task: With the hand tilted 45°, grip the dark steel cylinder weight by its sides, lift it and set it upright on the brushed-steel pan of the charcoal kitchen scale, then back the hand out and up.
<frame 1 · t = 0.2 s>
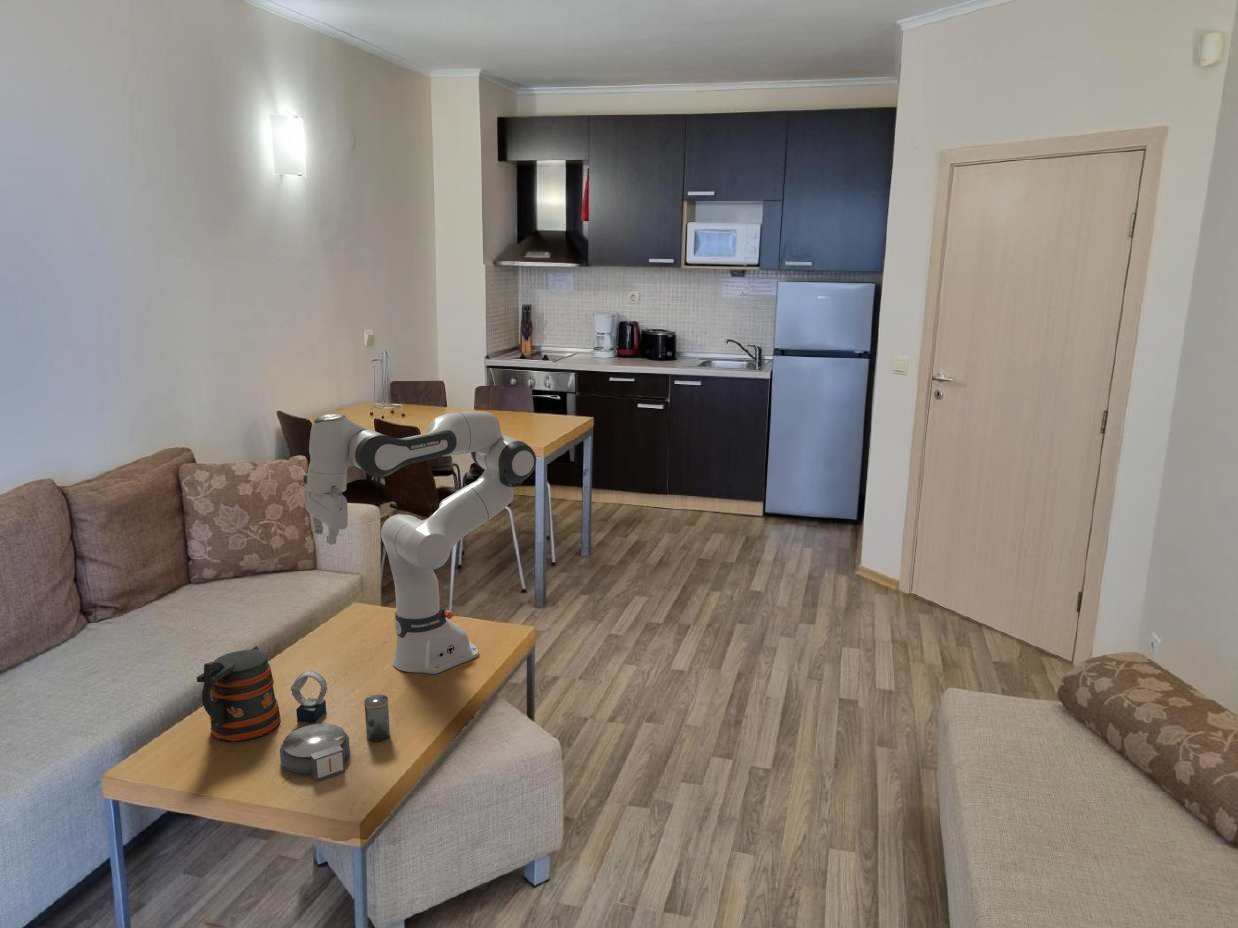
hand: (324, 538, 210), 39 cm above the table, tool pointing down, fingers open, 8 cm apart
scale: (315, 757, 188), on the table
watch: (311, 717, 205), on the table
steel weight: (378, 736, 196), on the table
beer stein: (240, 731, 198), on the table
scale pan: (314, 740, 187), point 4 cm above the table, slide at -0.2 cm
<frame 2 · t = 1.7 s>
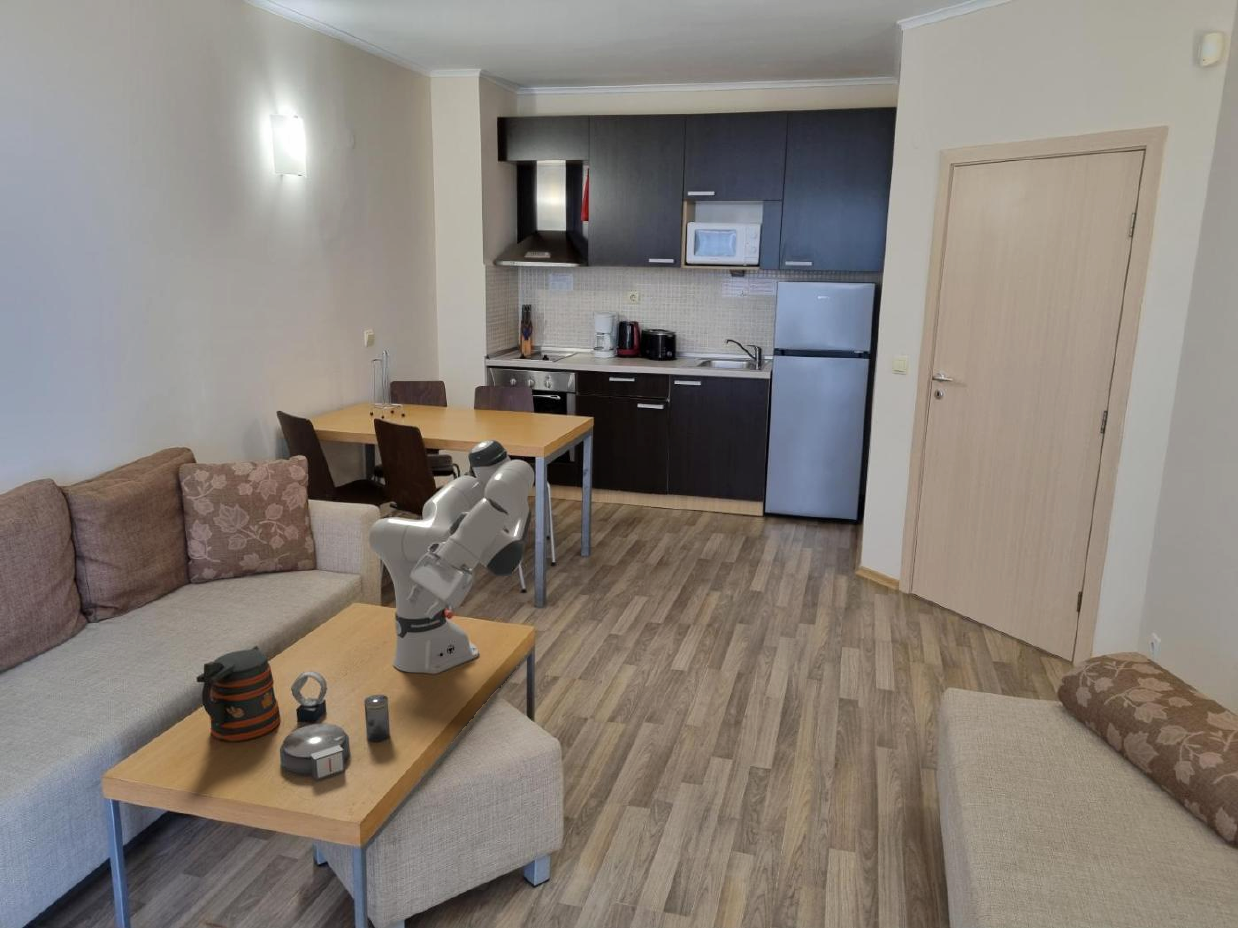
hand: (418, 609, 197), 27 cm above the table, tool tilted 45°, fingers open, 8 cm apart
nothing on the table moved.
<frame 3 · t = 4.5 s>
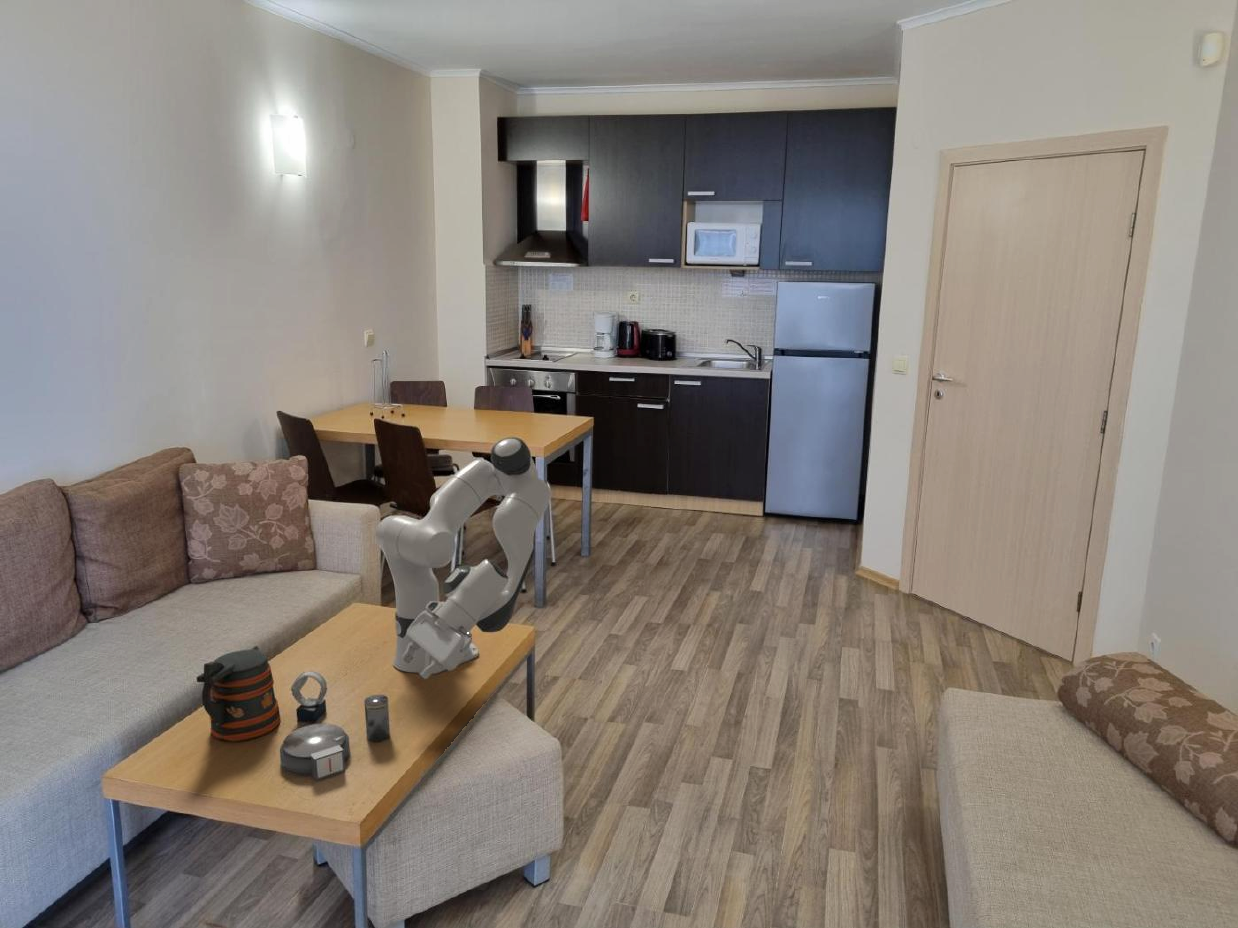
hand: (412, 668, 198), 14 cm above the table, tool tilted 50°, fingers open, 8 cm apart
nothing on the table moved.
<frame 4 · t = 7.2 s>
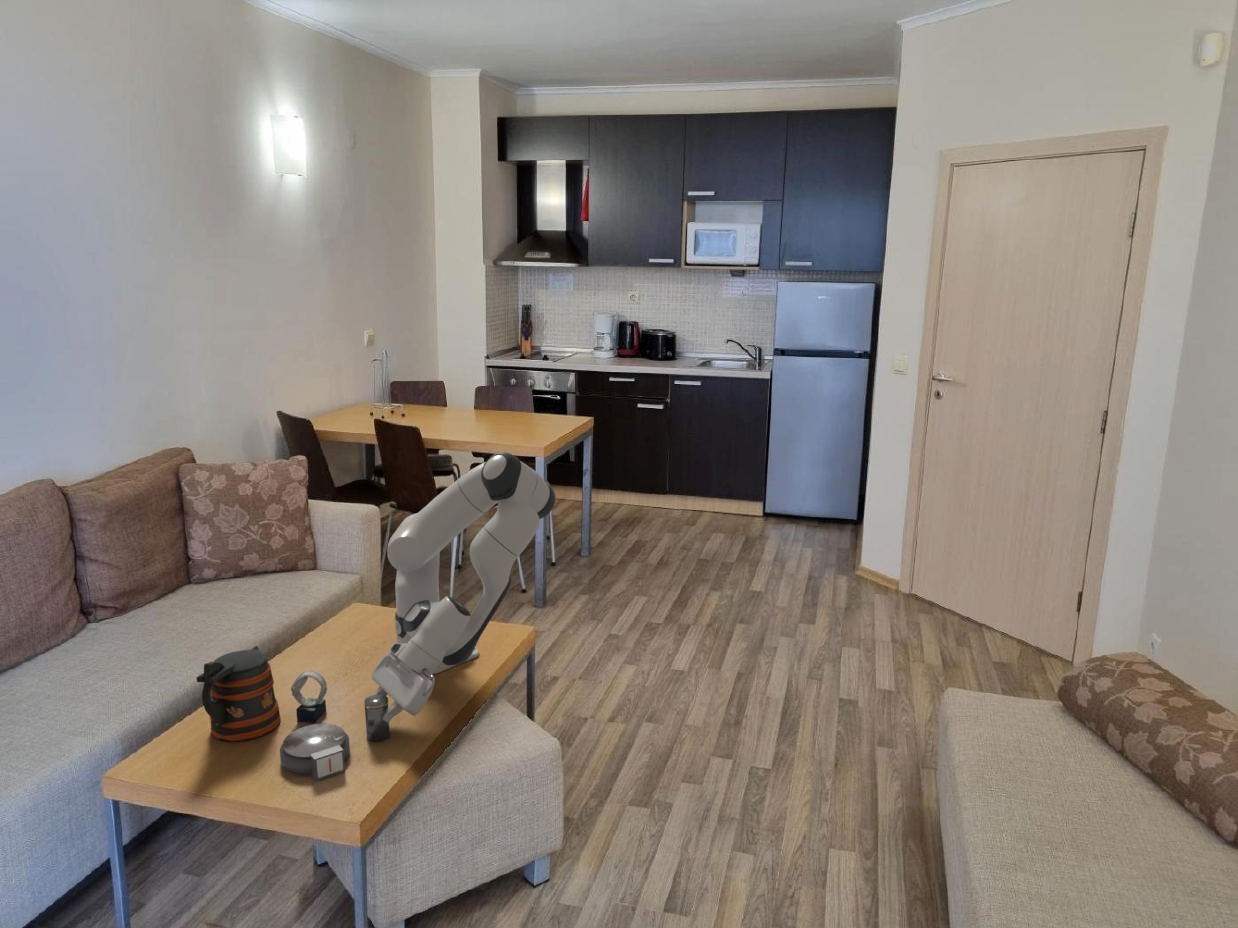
hand: (378, 714, 195), 5 cm above the table, tool tilted 45°, fingers closed on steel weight, 5 cm apart
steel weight: (378, 736, 196), on the table, touching gripper
everything else where it was.
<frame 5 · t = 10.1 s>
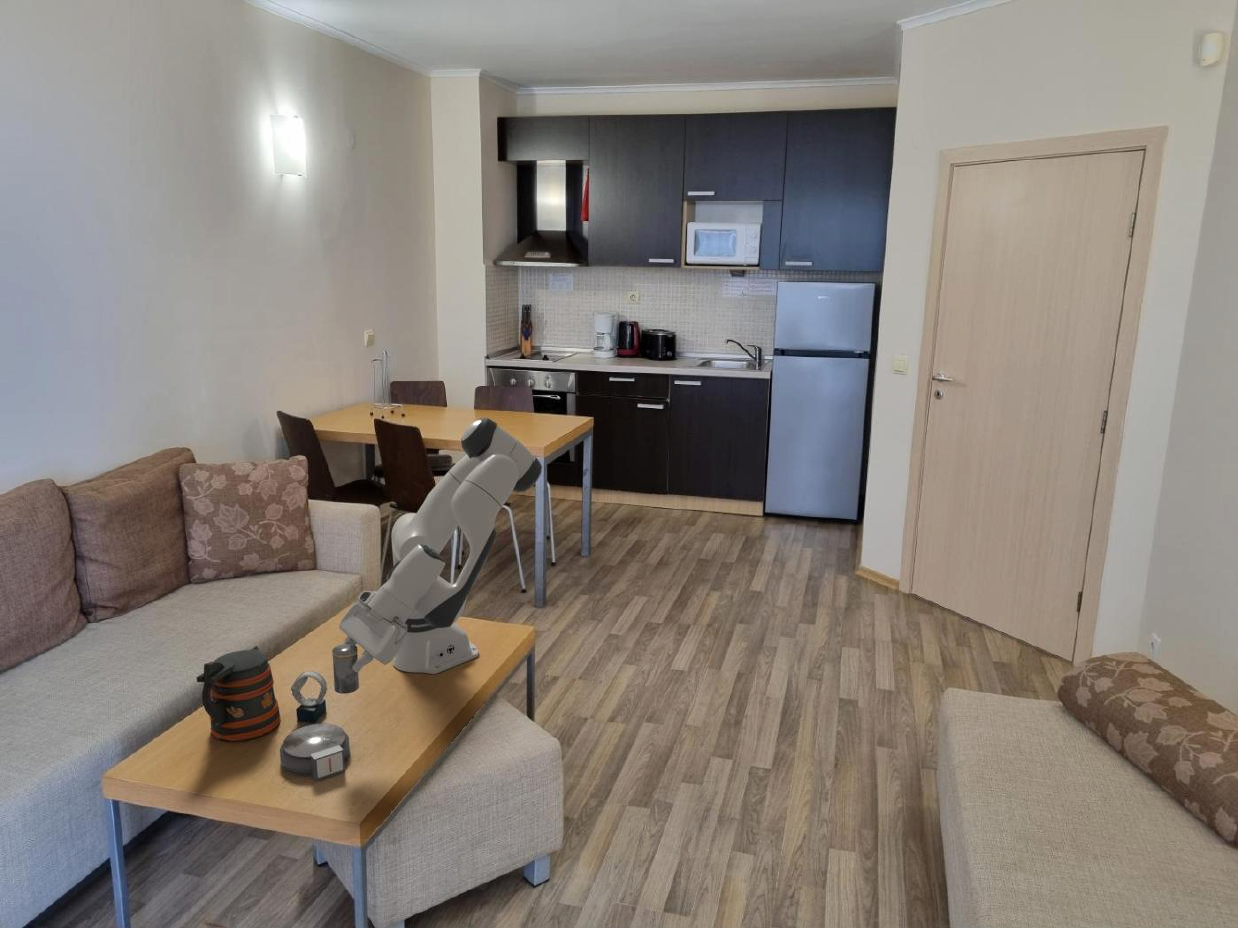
hand: (347, 664, 186), 20 cm above the table, tool tilted 45°, fingers closed on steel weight, 5 cm apart
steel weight: (346, 687, 187), point 15 cm above the table, touching gripper
everything else where it was.
when the fingers open (11 cm above the table, at t = 13.0 s): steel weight drops 2 cm, resting on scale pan.
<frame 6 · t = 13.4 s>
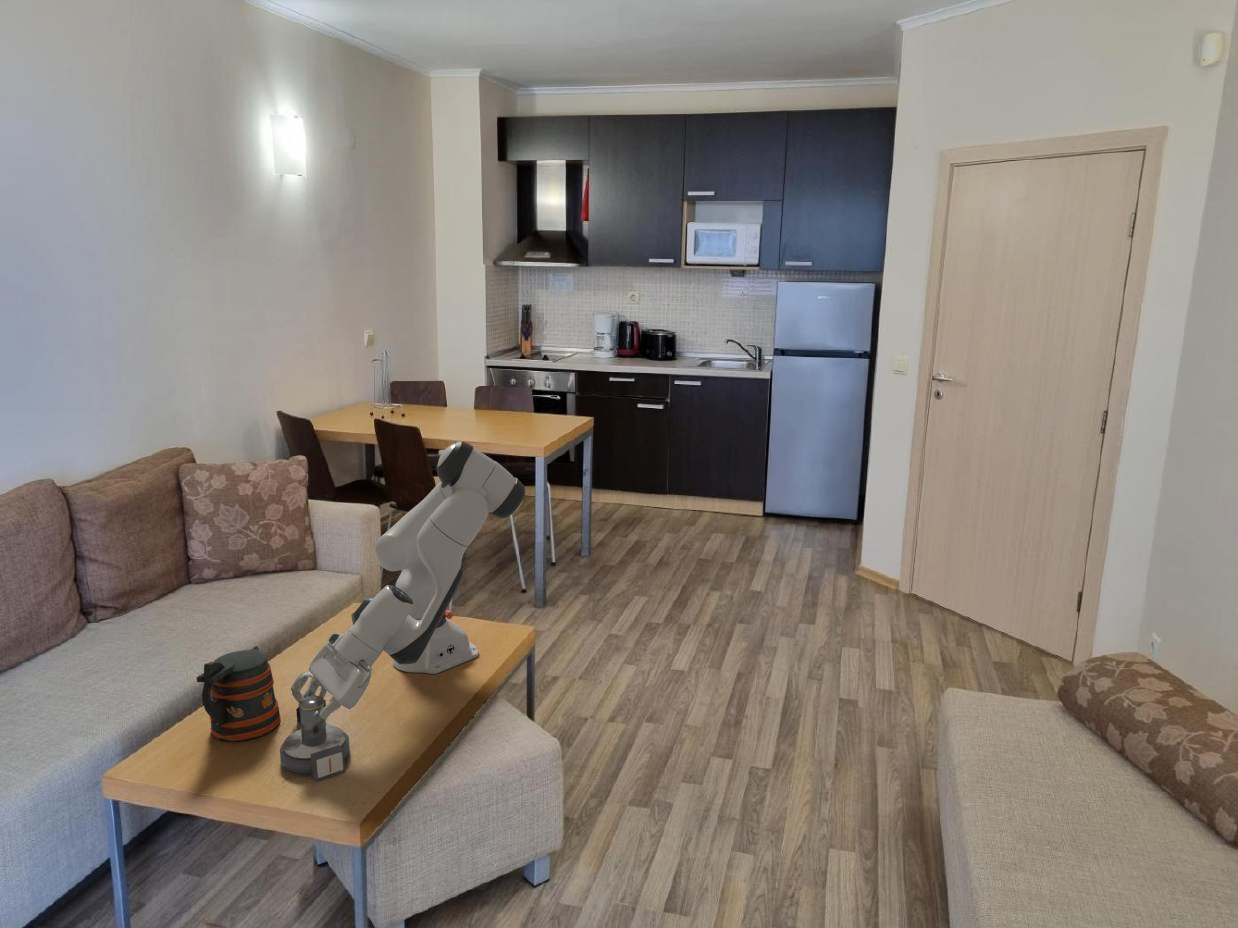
hand: (313, 707, 185), 11 cm above the table, tool tilted 45°, fingers open, 8 cm apart
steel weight: (314, 739, 187), point 4 cm above the table, touching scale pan
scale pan: (314, 741, 187), point 4 cm above the table, slide at -0.6 cm, touching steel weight
everything else where it was.
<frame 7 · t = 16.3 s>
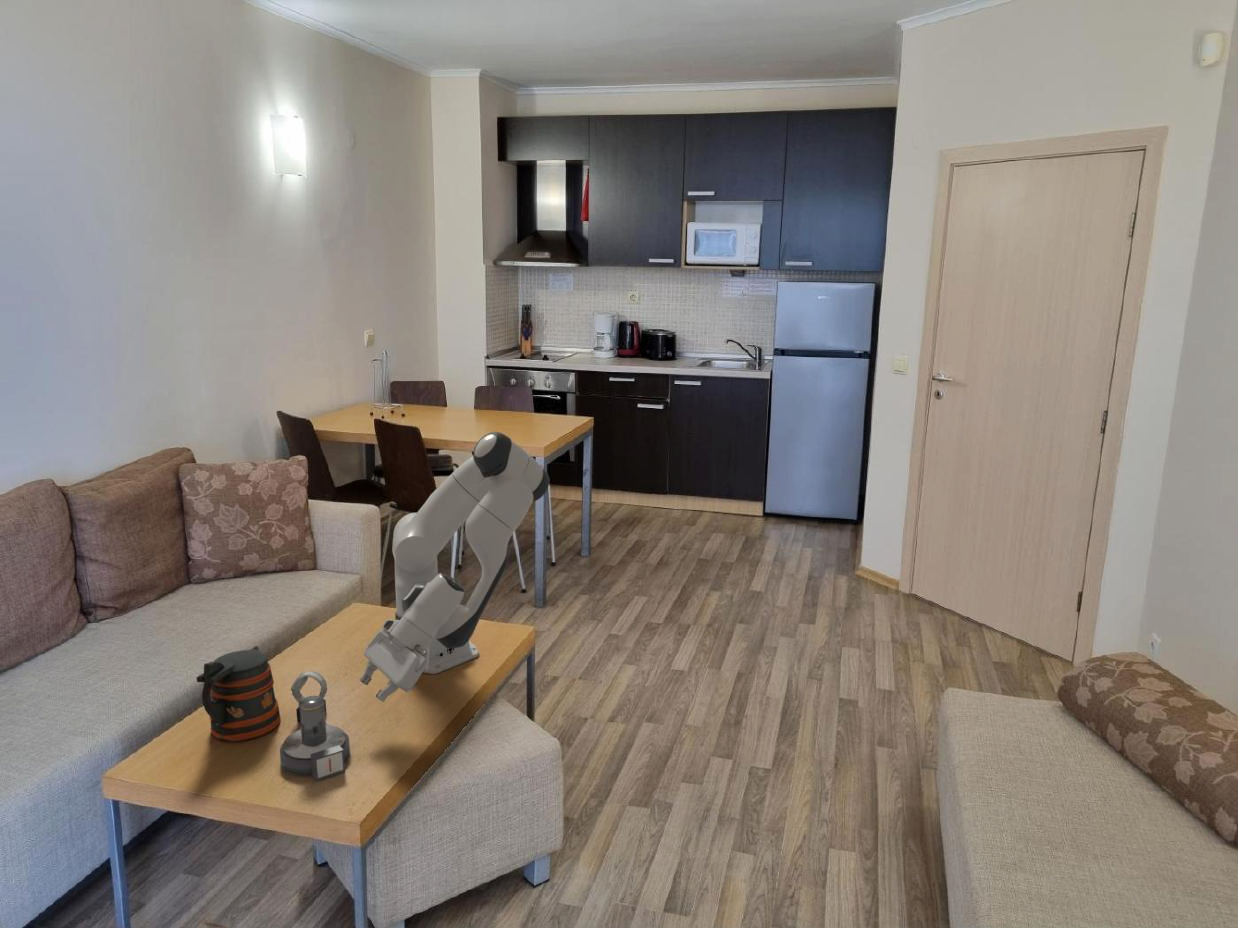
hand: (370, 690, 193), 11 cm above the table, tool tilted 45°, fingers open, 8 cm apart
nothing on the table moved.
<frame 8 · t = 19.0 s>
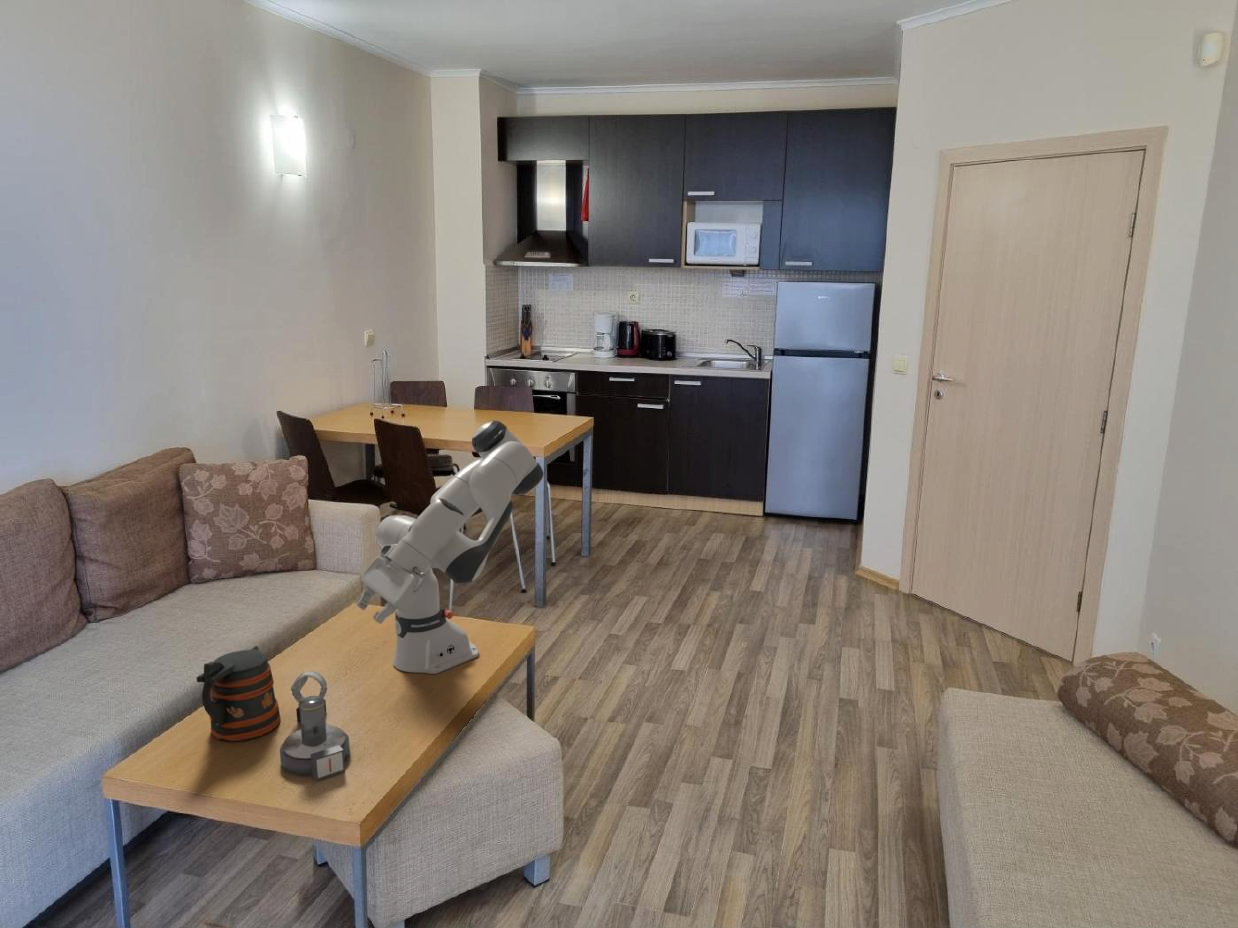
hand: (367, 614, 189), 29 cm above the table, tool tilted 45°, fingers open, 8 cm apart
nothing on the table moved.
at the end: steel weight inside the target area on the scale (0.1 cm from its centre), point 4.0 cm above the scale's base; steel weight tilted 0°; the gripper is holding nothing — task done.
